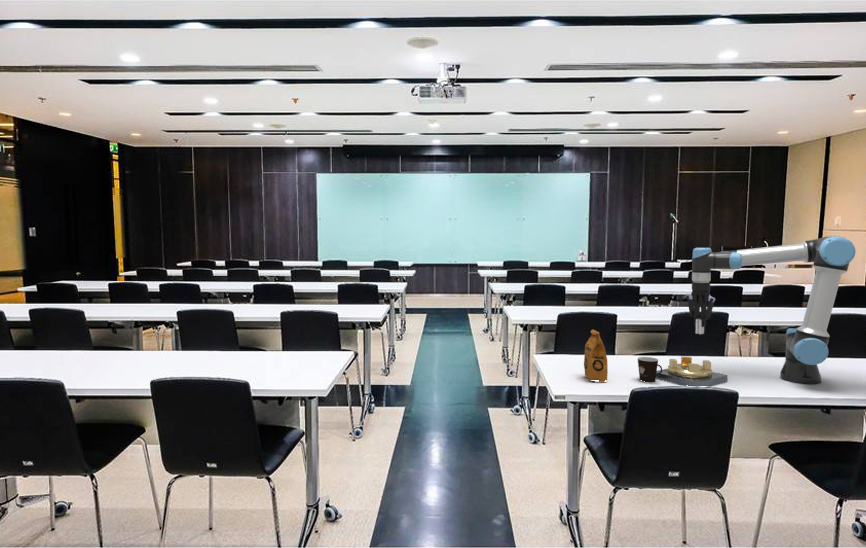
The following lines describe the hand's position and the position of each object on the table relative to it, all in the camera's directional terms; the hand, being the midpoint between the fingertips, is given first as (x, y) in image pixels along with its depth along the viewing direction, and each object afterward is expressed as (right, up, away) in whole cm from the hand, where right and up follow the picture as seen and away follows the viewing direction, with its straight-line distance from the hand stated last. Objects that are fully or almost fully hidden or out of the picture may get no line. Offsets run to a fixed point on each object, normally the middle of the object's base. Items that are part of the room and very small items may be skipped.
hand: (699, 333), depth 244 cm
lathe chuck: (-6, -18, -2) cm, 19 cm away
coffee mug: (-25, -21, -5) cm, 33 cm away
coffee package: (-47, -21, 0) cm, 52 cm away
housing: (-6, -21, -2) cm, 22 cm away
